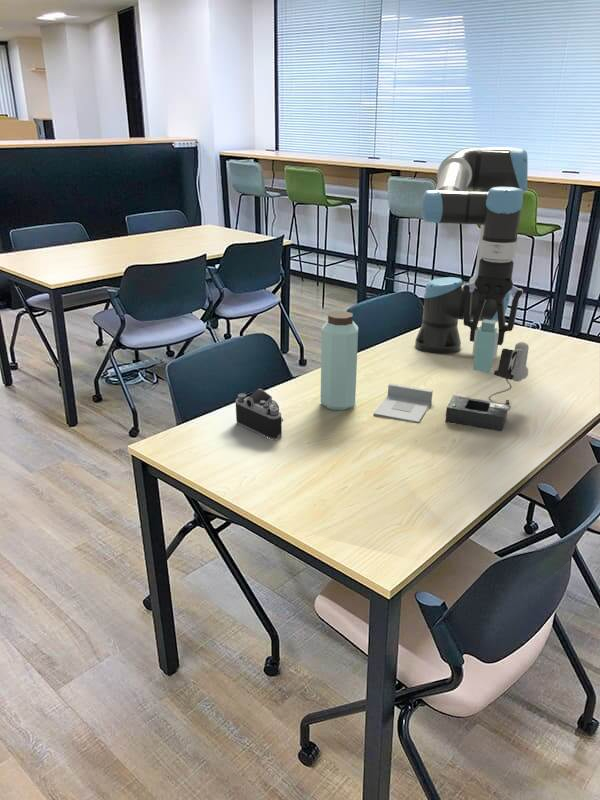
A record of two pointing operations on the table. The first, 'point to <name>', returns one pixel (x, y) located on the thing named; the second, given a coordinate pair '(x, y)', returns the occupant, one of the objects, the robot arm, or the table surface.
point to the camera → (259, 414)
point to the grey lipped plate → (405, 403)
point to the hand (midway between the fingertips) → (484, 355)
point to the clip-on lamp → (513, 365)
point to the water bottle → (339, 361)
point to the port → (477, 413)
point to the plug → (485, 346)
